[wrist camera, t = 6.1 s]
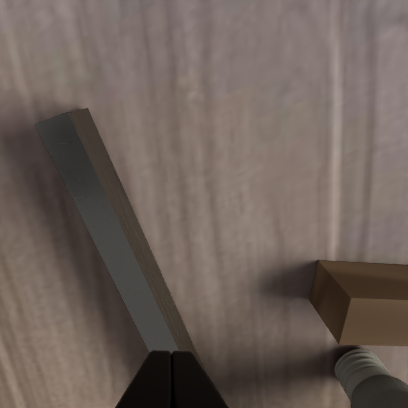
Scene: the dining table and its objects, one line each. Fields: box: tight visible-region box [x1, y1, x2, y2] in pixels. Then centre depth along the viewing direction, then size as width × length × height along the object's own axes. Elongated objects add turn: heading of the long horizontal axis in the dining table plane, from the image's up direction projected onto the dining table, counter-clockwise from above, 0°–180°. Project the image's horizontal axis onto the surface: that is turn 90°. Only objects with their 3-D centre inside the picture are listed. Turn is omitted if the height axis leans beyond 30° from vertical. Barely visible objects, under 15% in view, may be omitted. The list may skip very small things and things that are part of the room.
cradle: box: [309, 260, 408, 346], centre depth 19 cm, size 13×7×4 cm, turn 174°
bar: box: [35, 108, 205, 371], centre depth 17 cm, size 25×2×3 cm, turn 19°
